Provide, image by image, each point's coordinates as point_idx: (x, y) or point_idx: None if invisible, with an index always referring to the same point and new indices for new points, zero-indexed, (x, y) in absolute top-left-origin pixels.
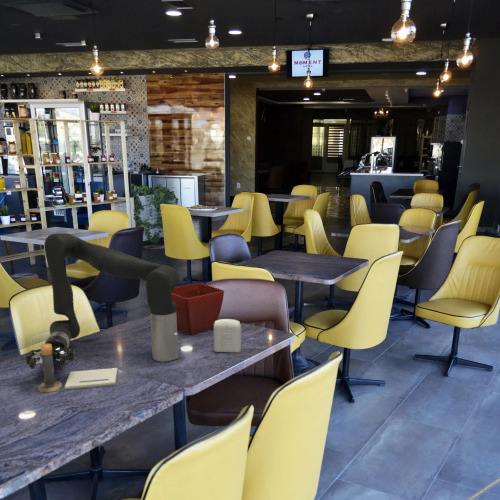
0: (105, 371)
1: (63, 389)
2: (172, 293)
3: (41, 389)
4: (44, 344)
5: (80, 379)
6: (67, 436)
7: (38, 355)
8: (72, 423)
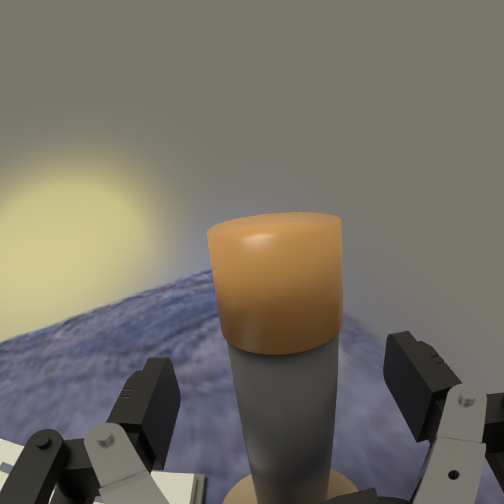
0: None
1: (204, 474)
2: None
3: (331, 478)
4: (308, 229)
5: None
6: (188, 294)
7: (440, 433)
8: (176, 317)
